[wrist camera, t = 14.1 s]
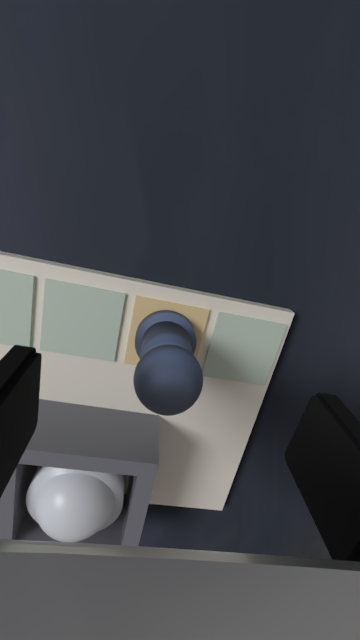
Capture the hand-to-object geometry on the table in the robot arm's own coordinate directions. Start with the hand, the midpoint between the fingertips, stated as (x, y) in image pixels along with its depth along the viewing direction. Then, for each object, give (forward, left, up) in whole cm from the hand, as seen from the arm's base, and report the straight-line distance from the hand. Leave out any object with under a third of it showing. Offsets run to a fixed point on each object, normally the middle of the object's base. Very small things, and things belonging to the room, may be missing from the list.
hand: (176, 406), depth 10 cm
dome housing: (+11, -3, -9) cm, 15 cm away
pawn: (+1, 0, -8) cm, 8 cm away
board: (+6, -5, -9) cm, 12 cm away
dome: (+11, -3, -8) cm, 14 cm away
